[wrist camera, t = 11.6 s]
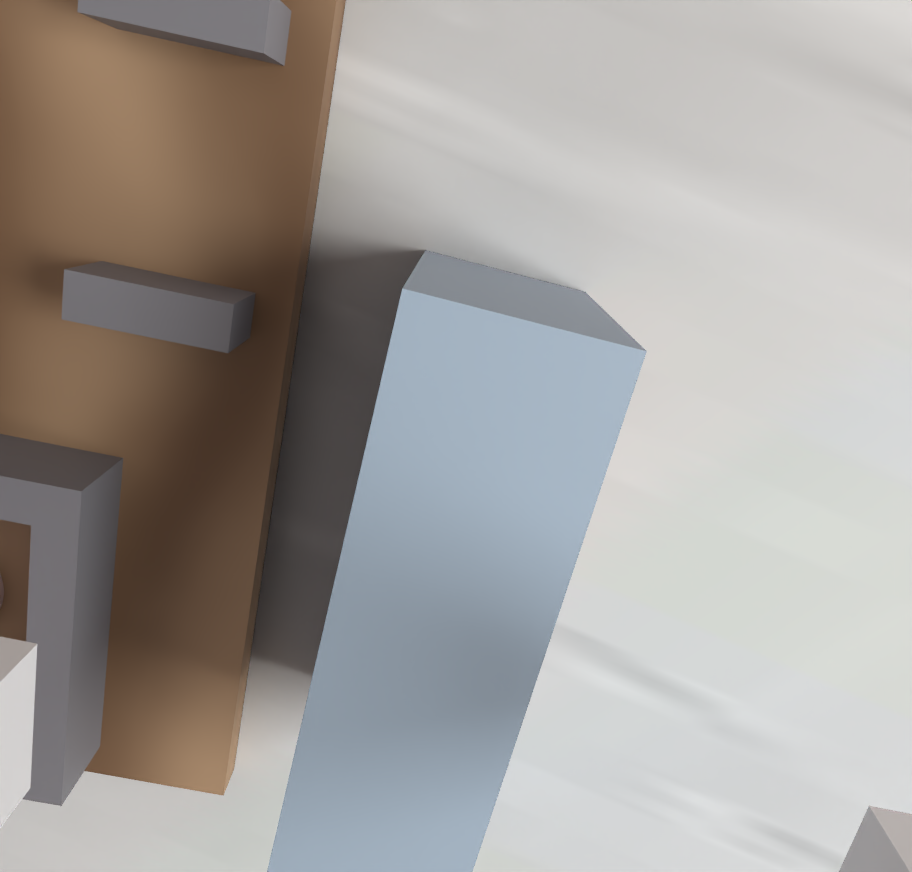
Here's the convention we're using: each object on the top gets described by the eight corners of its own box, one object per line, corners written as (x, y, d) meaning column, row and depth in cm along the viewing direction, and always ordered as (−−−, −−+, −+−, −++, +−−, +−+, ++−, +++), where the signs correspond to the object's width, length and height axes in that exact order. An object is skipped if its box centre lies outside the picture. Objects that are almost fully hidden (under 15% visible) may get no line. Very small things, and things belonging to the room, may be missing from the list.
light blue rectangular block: (458, 707, 26) (454, 925, 18) (324, 677, 26) (263, 885, 18) (584, 291, 22) (646, 351, 14) (425, 250, 22) (402, 288, 14)
